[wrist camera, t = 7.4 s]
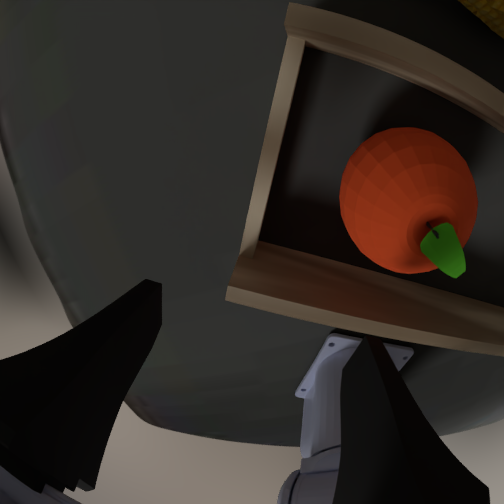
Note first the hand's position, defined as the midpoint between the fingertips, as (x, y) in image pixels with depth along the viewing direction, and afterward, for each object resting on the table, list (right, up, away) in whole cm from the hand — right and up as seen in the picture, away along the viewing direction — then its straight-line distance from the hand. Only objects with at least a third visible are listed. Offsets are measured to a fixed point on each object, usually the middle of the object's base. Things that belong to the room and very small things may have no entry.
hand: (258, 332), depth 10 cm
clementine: (+8, +7, +6) cm, 12 cm away
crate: (+13, +5, +5) cm, 15 cm away
